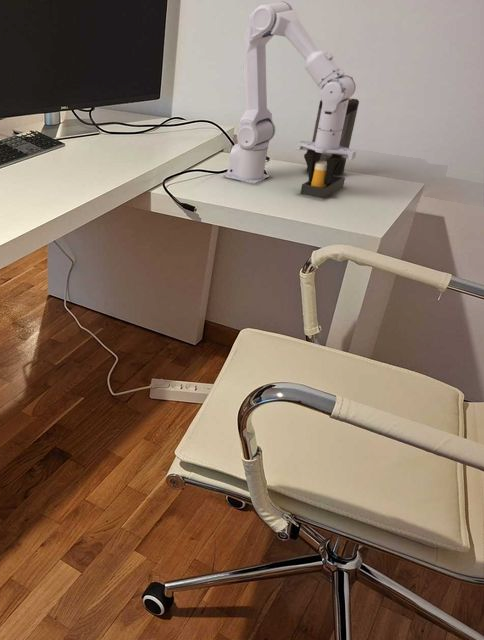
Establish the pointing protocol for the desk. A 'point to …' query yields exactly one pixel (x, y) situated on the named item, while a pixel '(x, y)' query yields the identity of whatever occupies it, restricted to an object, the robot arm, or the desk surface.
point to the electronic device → (346, 131)
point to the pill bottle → (319, 174)
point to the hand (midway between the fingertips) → (319, 181)
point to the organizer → (321, 193)
